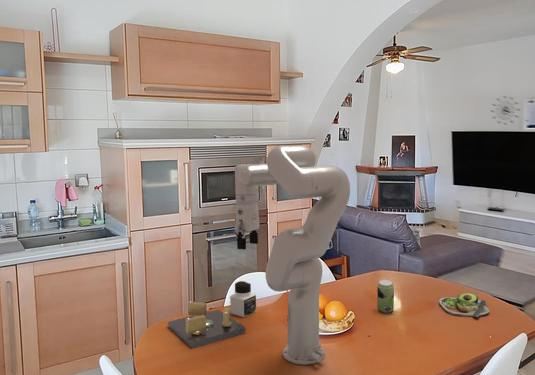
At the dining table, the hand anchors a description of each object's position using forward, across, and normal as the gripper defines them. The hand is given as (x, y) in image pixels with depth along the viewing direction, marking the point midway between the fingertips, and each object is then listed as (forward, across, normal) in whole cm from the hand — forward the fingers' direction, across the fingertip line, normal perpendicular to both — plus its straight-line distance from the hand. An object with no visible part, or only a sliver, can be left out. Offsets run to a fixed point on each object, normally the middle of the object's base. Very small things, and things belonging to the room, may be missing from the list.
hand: (248, 246), depth 165 cm
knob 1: (+25, -21, +10) cm, 34 cm away
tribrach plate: (+28, -13, +11) cm, 32 cm away
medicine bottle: (+28, +6, +6) cm, 29 cm away
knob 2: (+25, -11, +4) cm, 28 cm away
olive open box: (+25, -10, +17) cm, 32 cm away
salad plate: (+29, +42, -71) cm, 87 cm away
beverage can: (+28, +28, -44) cm, 59 cm away
